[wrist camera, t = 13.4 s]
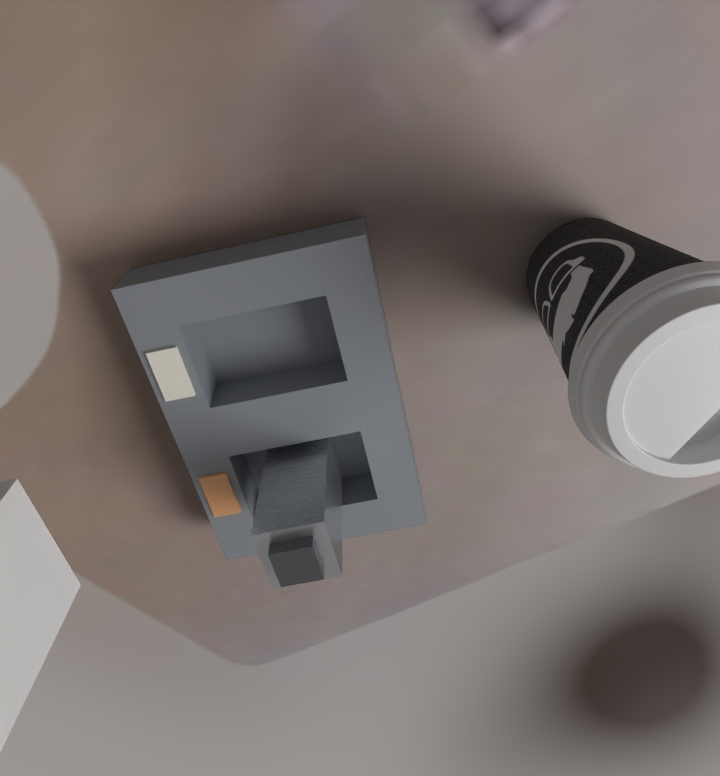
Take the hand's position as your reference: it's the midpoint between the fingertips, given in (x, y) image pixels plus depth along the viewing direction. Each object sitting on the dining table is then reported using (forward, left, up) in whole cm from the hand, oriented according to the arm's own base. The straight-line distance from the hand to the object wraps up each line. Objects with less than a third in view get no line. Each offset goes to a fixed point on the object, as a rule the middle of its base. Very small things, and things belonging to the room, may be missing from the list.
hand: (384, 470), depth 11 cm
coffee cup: (+8, +12, -27) cm, 31 cm away
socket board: (+12, -7, -27) cm, 30 cm away
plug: (+16, -7, -26) cm, 32 cm away
